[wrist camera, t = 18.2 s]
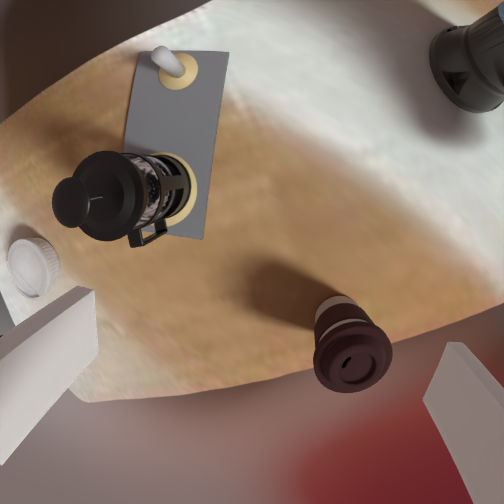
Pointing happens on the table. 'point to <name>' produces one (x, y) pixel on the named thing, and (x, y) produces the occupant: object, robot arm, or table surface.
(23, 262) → the ramekin
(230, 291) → the table surface
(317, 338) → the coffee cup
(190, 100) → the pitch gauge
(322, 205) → the table surface
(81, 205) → the french press
